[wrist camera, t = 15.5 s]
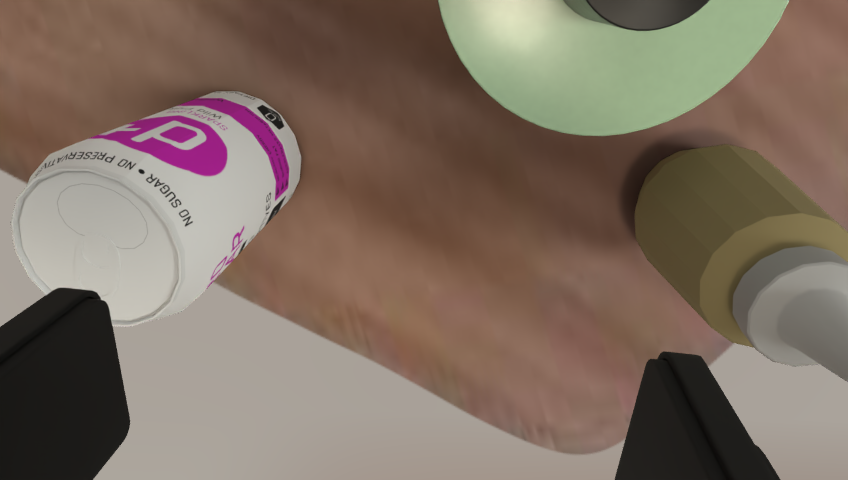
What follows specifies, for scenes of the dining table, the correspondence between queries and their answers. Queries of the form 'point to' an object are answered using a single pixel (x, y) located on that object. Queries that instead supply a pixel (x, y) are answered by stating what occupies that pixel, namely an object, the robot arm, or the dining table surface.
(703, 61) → the lid
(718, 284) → the squeeze bottle
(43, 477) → the robot arm
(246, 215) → the supplement can
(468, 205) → the dining table surface
